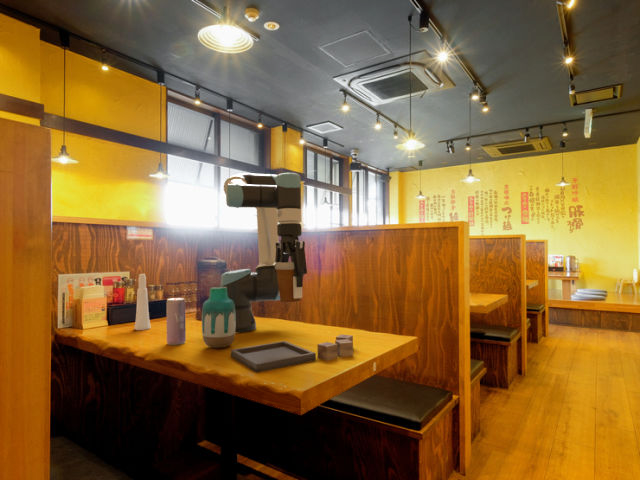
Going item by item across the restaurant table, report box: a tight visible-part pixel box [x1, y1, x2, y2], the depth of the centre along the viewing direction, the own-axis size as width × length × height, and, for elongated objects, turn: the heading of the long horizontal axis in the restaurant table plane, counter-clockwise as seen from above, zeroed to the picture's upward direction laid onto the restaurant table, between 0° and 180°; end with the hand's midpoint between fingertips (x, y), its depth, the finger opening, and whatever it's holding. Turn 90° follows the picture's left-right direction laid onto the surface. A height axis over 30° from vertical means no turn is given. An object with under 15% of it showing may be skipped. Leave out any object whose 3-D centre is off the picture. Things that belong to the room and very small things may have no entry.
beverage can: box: [166, 297, 187, 346], centre depth 132 cm, size 6×6×15 cm
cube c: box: [335, 334, 354, 343], centre depth 121 cm, size 4×4×4 cm
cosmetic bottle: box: [134, 273, 152, 331], centre depth 157 cm, size 6×6×22 cm
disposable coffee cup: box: [275, 261, 304, 303], centre depth 120 cm, size 10×10×12 cm
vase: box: [201, 286, 236, 349], centre depth 126 cm, size 11×11×19 cm
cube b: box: [334, 339, 354, 358], centre depth 115 cm, size 4×4×4 cm
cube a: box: [316, 341, 338, 362], centre depth 111 cm, size 4×4×4 cm
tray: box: [230, 340, 317, 373], centre depth 112 cm, size 18×18×2 cm
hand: (290, 296), depth 120 cm, fingers closed on disposable coffee cup, 8 cm apart
